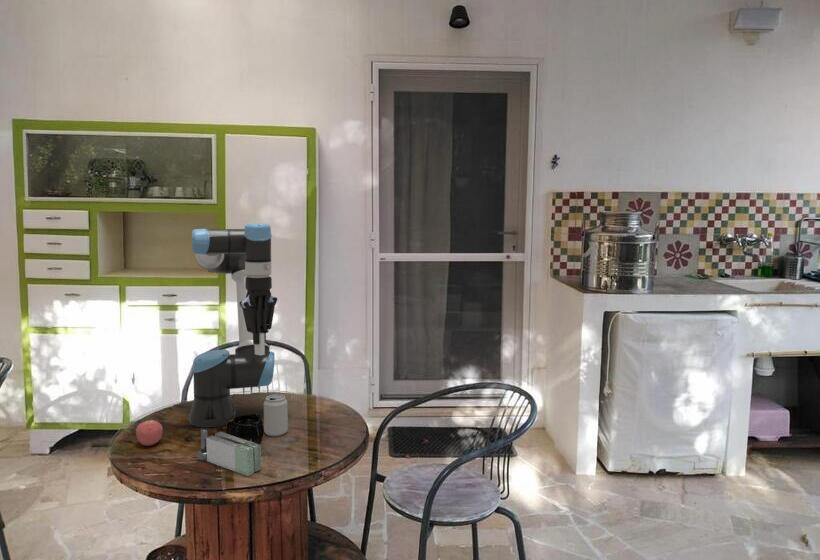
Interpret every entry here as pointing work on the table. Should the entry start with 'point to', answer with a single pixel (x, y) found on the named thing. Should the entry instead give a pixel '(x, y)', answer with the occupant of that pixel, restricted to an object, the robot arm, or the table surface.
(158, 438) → the apple
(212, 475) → the table surface
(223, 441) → the base
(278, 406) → the can
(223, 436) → the tong jaw
